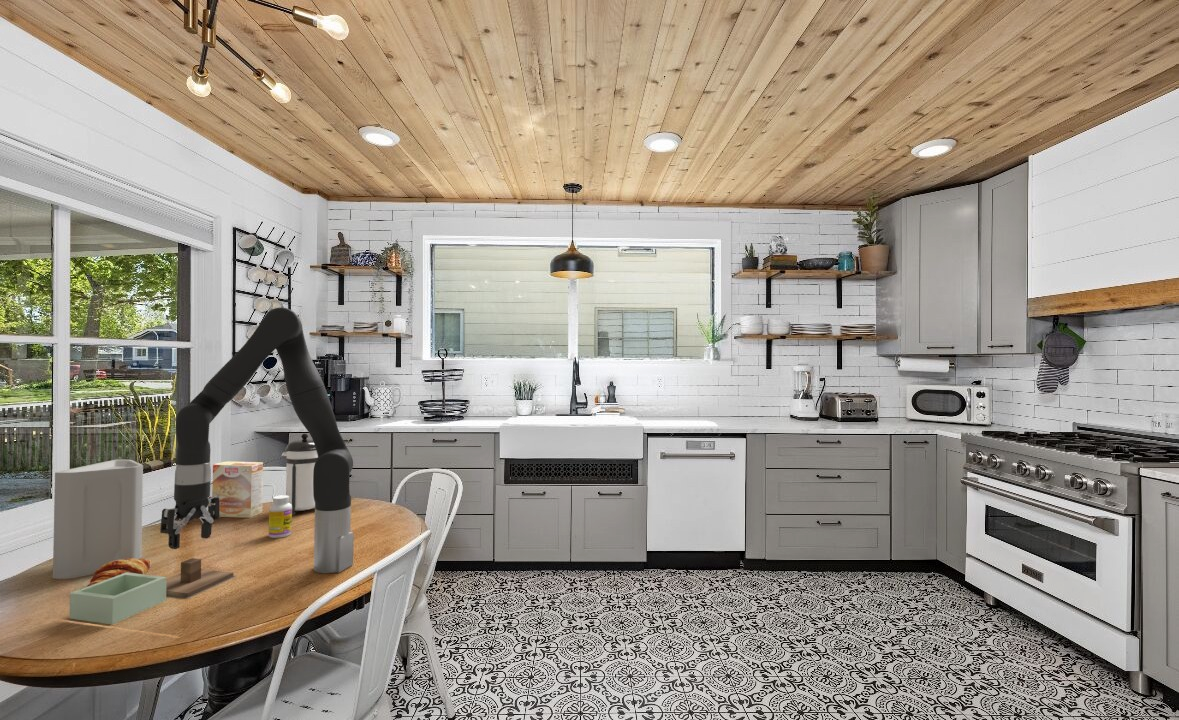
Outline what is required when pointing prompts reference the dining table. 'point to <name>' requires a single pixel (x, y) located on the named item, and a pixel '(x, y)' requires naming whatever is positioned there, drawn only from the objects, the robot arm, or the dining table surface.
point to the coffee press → (300, 473)
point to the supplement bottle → (280, 517)
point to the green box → (117, 598)
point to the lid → (194, 579)
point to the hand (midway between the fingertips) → (190, 542)
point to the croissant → (120, 569)
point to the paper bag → (96, 516)
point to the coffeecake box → (238, 488)
